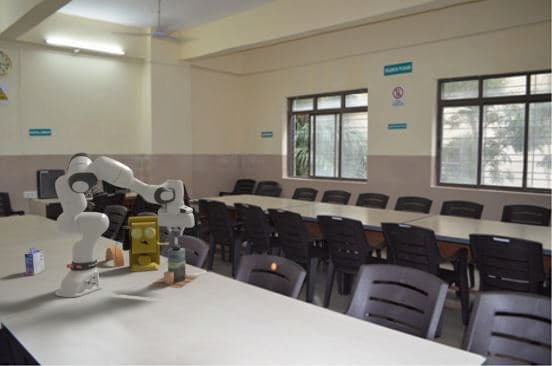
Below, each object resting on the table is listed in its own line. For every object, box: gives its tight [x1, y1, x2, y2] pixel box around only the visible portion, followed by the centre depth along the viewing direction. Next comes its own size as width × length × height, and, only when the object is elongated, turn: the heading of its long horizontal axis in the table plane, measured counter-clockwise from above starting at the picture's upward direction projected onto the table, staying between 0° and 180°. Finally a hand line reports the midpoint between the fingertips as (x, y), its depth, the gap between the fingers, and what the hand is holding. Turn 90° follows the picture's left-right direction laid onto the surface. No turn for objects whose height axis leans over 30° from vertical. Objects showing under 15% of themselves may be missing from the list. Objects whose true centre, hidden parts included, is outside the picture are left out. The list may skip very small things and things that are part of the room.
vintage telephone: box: [115, 215, 170, 273], centre depth 268 cm, size 31×14×30 cm, turn 105°
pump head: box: [166, 229, 182, 246], centre depth 237 cm, size 10×4×8 cm, turn 164°
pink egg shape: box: [163, 270, 174, 285], centre depth 233 cm, size 5×5×6 cm
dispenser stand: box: [149, 244, 200, 289], centre depth 239 cm, size 22×18×20 cm
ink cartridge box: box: [24, 246, 45, 276], centre depth 259 cm, size 10×6×14 cm, turn 174°
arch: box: [105, 246, 125, 268], centre depth 281 cm, size 6×20×10 cm, turn 35°
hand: (176, 234), depth 240 cm, fingers closed on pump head, 4 cm apart
